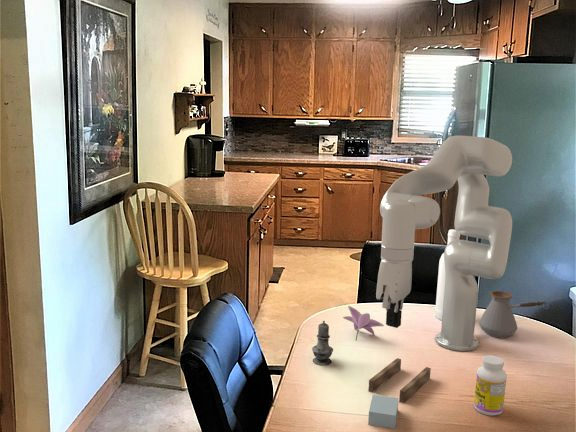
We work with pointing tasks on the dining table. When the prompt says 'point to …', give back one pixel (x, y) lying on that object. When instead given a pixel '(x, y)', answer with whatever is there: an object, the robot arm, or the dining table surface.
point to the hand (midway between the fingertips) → (393, 325)
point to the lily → (362, 321)
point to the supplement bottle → (490, 386)
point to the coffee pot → (501, 315)
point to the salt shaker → (322, 346)
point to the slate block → (383, 411)
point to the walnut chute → (392, 370)
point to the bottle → (443, 277)
